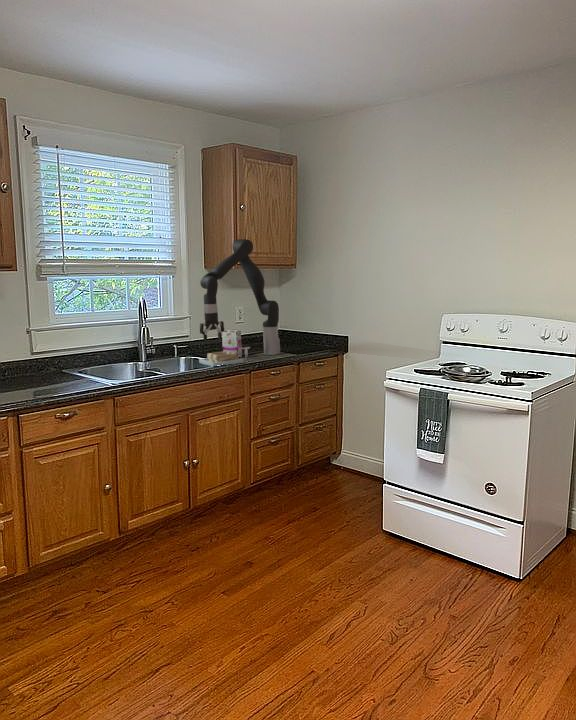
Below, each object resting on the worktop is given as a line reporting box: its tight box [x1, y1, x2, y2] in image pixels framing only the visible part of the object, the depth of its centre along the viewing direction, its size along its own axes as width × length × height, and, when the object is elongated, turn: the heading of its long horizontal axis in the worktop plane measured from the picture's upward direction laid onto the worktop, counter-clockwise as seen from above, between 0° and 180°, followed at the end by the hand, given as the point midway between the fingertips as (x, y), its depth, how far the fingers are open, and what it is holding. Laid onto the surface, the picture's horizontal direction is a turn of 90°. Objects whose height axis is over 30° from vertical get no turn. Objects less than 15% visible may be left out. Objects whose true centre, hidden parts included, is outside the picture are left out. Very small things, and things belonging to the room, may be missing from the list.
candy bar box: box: [221, 329, 243, 358], centre depth 369 cm, size 11×5×16 cm, turn 62°
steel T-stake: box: [242, 346, 251, 360], centre depth 361 cm, size 5×2×7 cm, turn 122°
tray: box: [198, 357, 245, 367], centre depth 349 cm, size 19×19×2 cm
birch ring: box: [206, 350, 238, 363], centre depth 349 cm, size 14×13×5 cm
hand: (212, 340), depth 345 cm, fingers open, 8 cm apart
